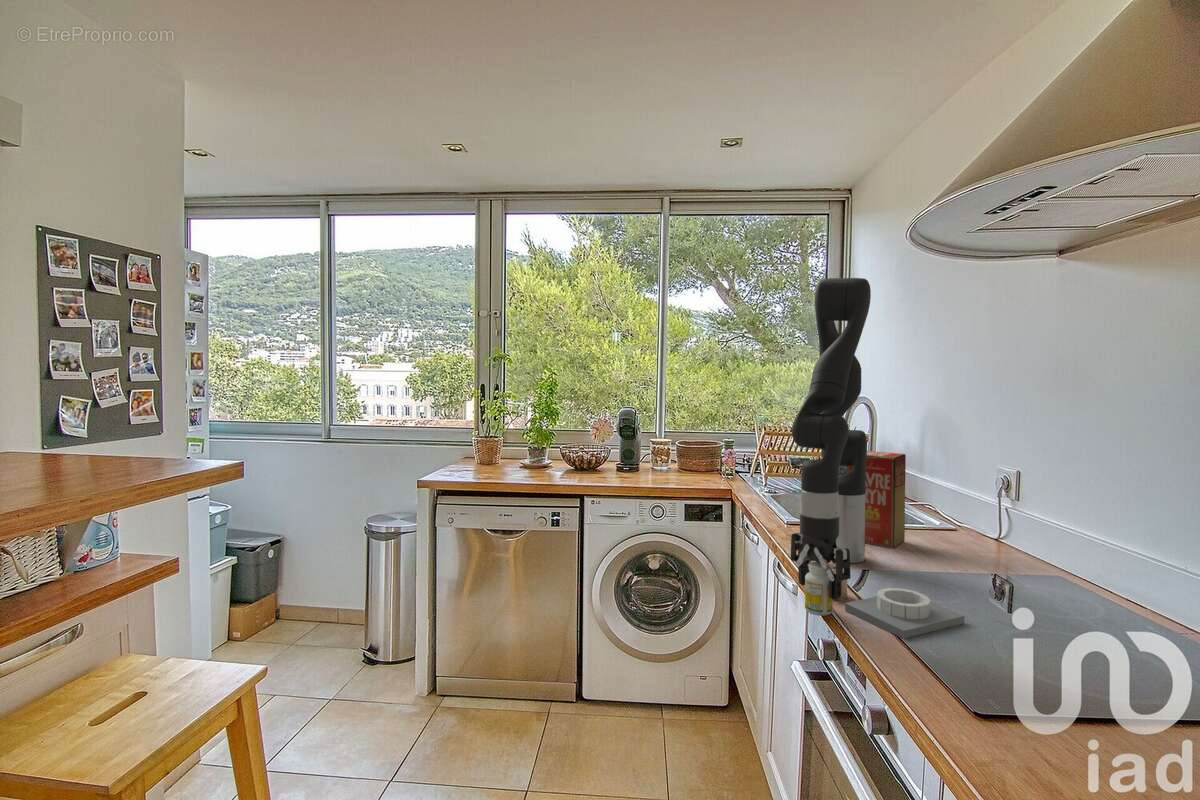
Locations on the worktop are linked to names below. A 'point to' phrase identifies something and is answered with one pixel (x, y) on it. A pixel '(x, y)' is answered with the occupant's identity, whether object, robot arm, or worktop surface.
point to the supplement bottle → (817, 591)
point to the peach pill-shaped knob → (843, 588)
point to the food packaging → (884, 499)
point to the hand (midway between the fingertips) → (818, 591)
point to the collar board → (901, 623)
